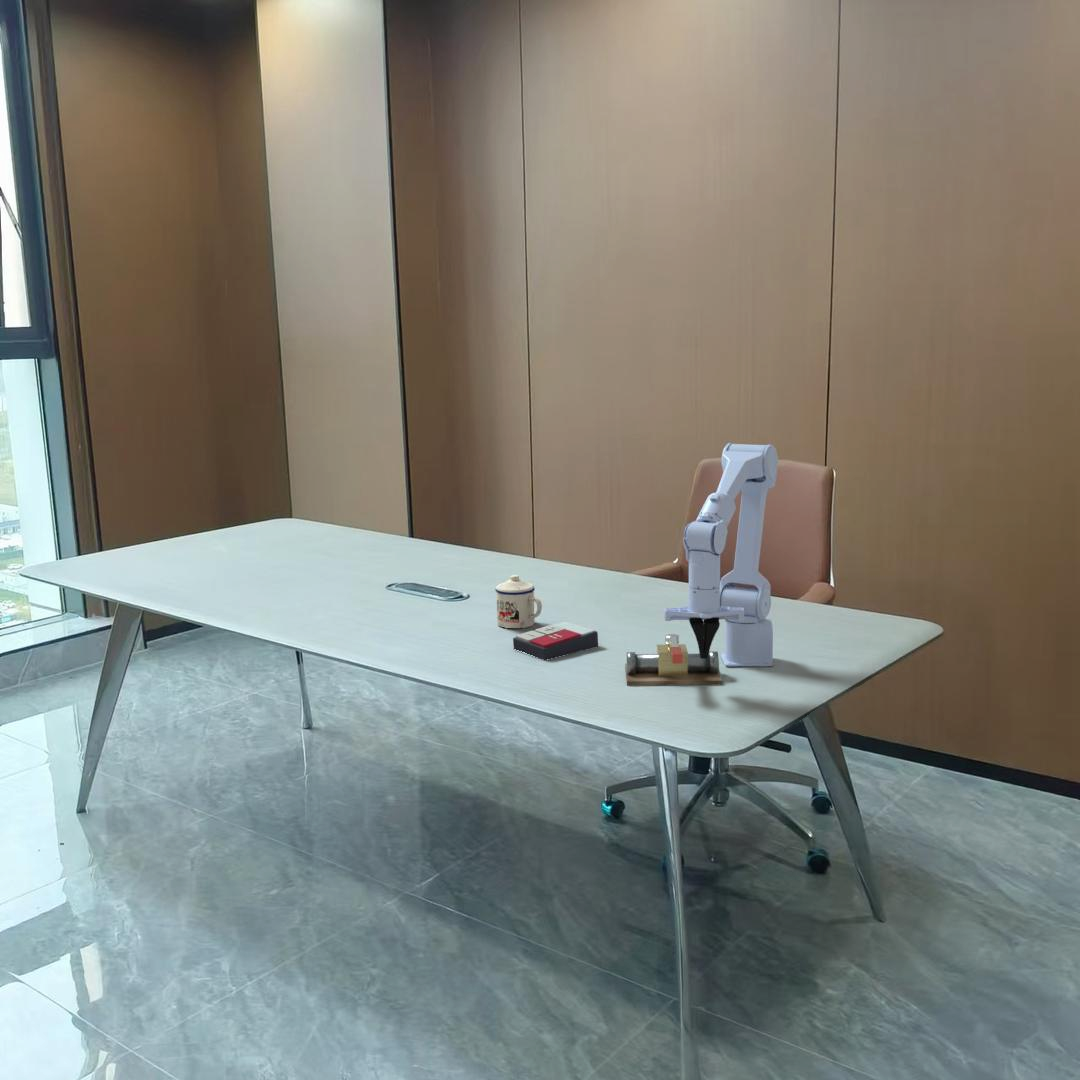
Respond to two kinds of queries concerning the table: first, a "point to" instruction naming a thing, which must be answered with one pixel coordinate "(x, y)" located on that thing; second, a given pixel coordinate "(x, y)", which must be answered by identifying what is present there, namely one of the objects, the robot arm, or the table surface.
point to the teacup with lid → (516, 603)
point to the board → (672, 678)
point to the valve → (664, 662)
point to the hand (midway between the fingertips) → (703, 657)
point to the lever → (674, 648)
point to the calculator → (556, 640)
